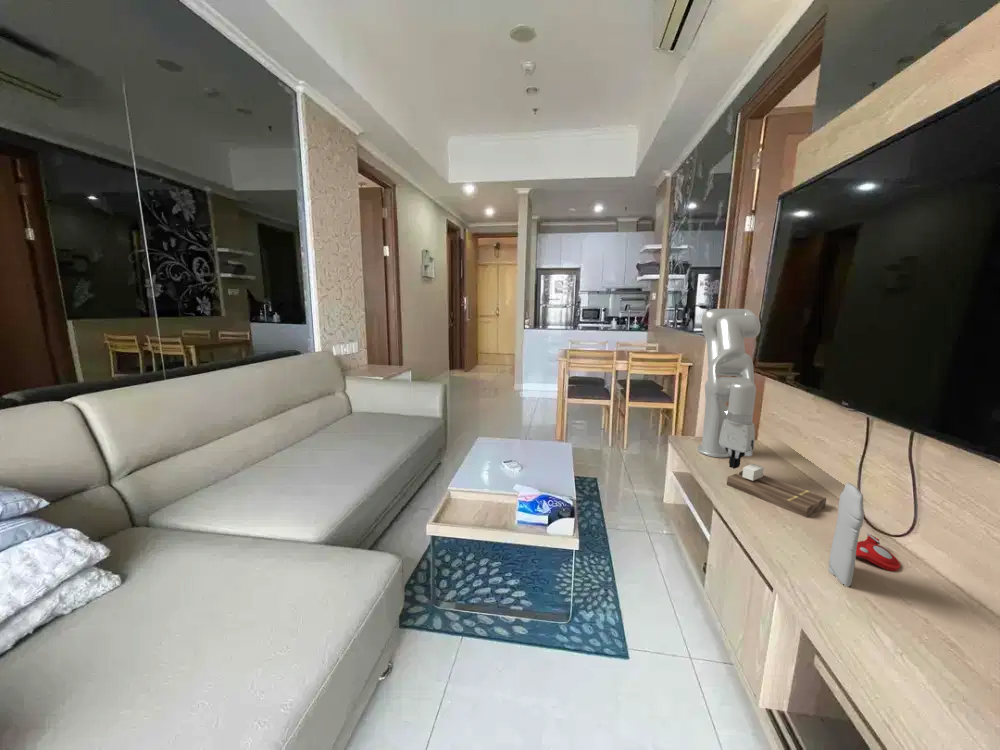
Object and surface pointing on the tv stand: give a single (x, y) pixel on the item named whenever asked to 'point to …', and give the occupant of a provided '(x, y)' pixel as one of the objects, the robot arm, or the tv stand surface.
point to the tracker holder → (876, 554)
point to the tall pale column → (846, 534)
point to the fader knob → (753, 472)
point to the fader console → (779, 494)
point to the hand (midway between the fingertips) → (734, 467)
